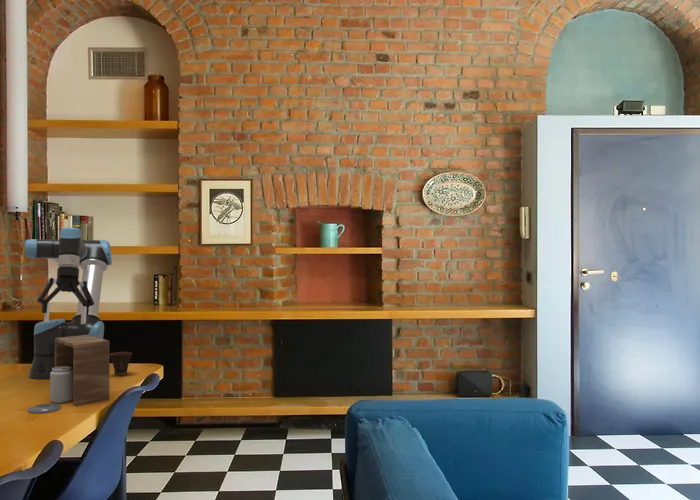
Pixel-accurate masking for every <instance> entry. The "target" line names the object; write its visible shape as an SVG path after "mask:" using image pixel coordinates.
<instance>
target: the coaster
mask: <svg viewBox="0 0 700 500" xmlns="http://www.w3.org/2000/svg"><path fill="white" fill-rule="evenodd" d="M61 408H62V406H61V404H60V403H41V404H37V405H32V406H29V407H28V408H27V413H29V414H36V415H37V414H48V413H53V412H57V411H59V410H61Z"/></svg>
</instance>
